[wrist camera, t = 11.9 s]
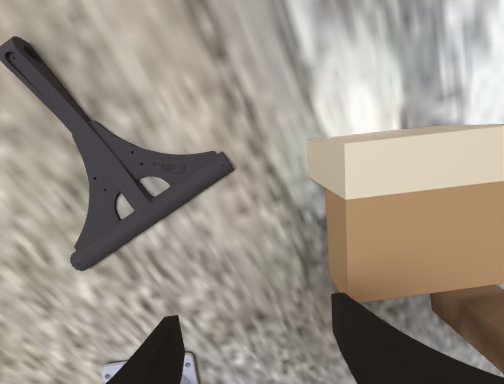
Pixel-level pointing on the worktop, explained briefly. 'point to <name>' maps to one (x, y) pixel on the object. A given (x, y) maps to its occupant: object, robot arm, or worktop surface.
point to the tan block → (413, 209)
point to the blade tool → (475, 318)
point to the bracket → (113, 165)
